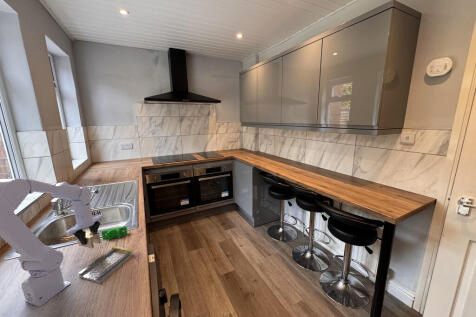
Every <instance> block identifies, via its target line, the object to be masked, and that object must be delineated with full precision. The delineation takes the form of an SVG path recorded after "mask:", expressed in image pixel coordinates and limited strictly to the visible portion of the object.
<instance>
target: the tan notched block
mask: <svg viewBox="0 0 476 317" xmlns="http://www.w3.org/2000/svg"><path fill="white" fill-rule="evenodd" d="M85 231H86V242H87V244H86V245H82V244H81V242H80V241H79V239H78V238H77V237H76V239H77V242H78V246H81V247H84V248H89V249H93V248H95V245H94V244H97V245H98V244H99V245H100V244H101V243H102V240H101V237H100V232H91V231H90V230H85Z"/></svg>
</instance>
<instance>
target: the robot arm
mask: <svg viewBox="0 0 476 317" xmlns="http://www.w3.org/2000/svg"><path fill="white" fill-rule="evenodd" d="M34 193H42V194H50V195H51V196H52V197H53V198H56V199H62V200H67V201H70V202H71V203H72V208H73V213H74V217H75V221H76V224H75V225H74V226H72V227H71V228H69V229H68V230H66V231H65V235H66V236H67V237H71V236H75V237H76V239H77V238H78V239H79V241H80V242H81V244H82V245H86V244H87V242H86V231H87V230H83V229H85V228H88V229H89V231H91V232H97V233H99V232H98V231H99V228H100V226H101V221H100V220H103V219H104V215H103V214H97V215H96V216H93V212H92V207H91V201H92V199H91V197H92V190H91V188H88V187H87V186H79V185H78V184H69V182H67V181H62V182H59V183H56V184H52V183H47V182H43V181H39V180H36V179H27V178H25V179H24V178H9V179H8V178H0V238H2V239H3V241H4V242H6V243H7V244H8V245H9V246H10V247H11V248H12V249H13V250H15V251H16V252H17V253H18V254H19V255H20V256H19V257H18V258H17V260H18V261H19V263H20V266H21V267H20V268H21V269H22V270H23V271H25V272H27V271H28V274H29V277H27V279H25V280H24V281H23V282H22V283H21V285H20V286H21V289H22V293H23V295H24V302H26V303H29V304H31V305H34V306H36V307H41V306H43V305H44V304H46V303H47V302H48V301H49V300H51V299H53V298H54V297H55V296H56V295H57V294H59V293H61V291H63V290H64V289H66V288H67V287H68V286H70V285H71V282H70V281H68V280H64V277H63V276H64V275H63V274H62V269H61V265H62V263H63V260H64V253H63V252H62V251H60V250H56V249H55V247H52V246H50V245H46V244H45V243H43V242H42V240H40V239H39V237H38V236H37V235H36V234H35V233H34V232H33V231H32V230H31V229H30V228H29V227H28V226H27V224H25V223H24V222H23V220H22V219H20V217H19V216H18V215H17V214H16V213H15V211H16V210H17V209H18V208H19V207H20V205H22V203H23V202H24V200H25V199H26V198H27V197H28V195H31V194H34ZM78 239H77V240H78Z"/></svg>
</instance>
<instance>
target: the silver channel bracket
mask: <svg viewBox="0 0 476 317" xmlns="http://www.w3.org/2000/svg"><path fill="white" fill-rule="evenodd" d="M132 256H134V252H133V249H131V248H127V247H126V248H125V247H121V246H116V245H113V246H112V247H111V249H110V250H108V251H107V252H105V253H104V254H103V255H101V256H100V257H98V258H97V259H96V260H94V261H93V262H91V263H90V264H89V265H87V266H86V267H85V268H83V269H82V270H80V271H79V272H78V273H77V274H78V278H80V279H84V280H86V281H87V280H88V281H89V282H90V281H91V282H94V283H97V284H101V283H102V282H103V281H104V280H106V278H107V277H110V276H111V274H113V273H114V272H115V271H116V270H117V269H118V268H120V267H121V266H122V265H123V264H124V263H125V262H126V261H128V260H129V259H130V258H131V257H132Z"/></svg>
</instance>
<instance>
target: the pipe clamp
mask: <svg viewBox="0 0 476 317" xmlns="http://www.w3.org/2000/svg"><path fill="white" fill-rule="evenodd" d="M127 228H128V227H127V225H125V226H119V227H115V228H109V229H104V230H101V235H102V236H101V237H102V240H106V239H107V241H108V242H110V241H111V240H112V239H114V238H115V239H116V238H117V240H118V239H121V237H122V236H125V234H126V235H128V229H127Z"/></svg>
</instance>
